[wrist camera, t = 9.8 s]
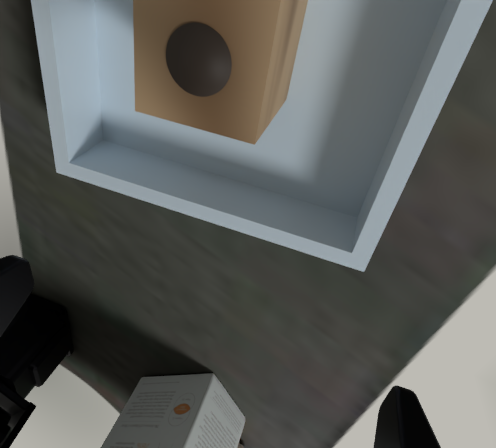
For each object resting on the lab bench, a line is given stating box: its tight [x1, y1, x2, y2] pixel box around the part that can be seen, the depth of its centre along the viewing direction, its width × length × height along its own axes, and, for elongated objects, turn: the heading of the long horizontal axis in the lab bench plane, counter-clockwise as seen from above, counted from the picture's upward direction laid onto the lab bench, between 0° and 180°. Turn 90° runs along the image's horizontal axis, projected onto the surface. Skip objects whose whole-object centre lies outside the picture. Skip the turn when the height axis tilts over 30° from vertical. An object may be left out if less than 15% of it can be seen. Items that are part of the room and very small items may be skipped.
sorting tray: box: [31, 0, 493, 272], centre depth 16 cm, size 16×16×4 cm
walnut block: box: [133, 0, 308, 145], centre depth 15 cm, size 4×4×5 cm
